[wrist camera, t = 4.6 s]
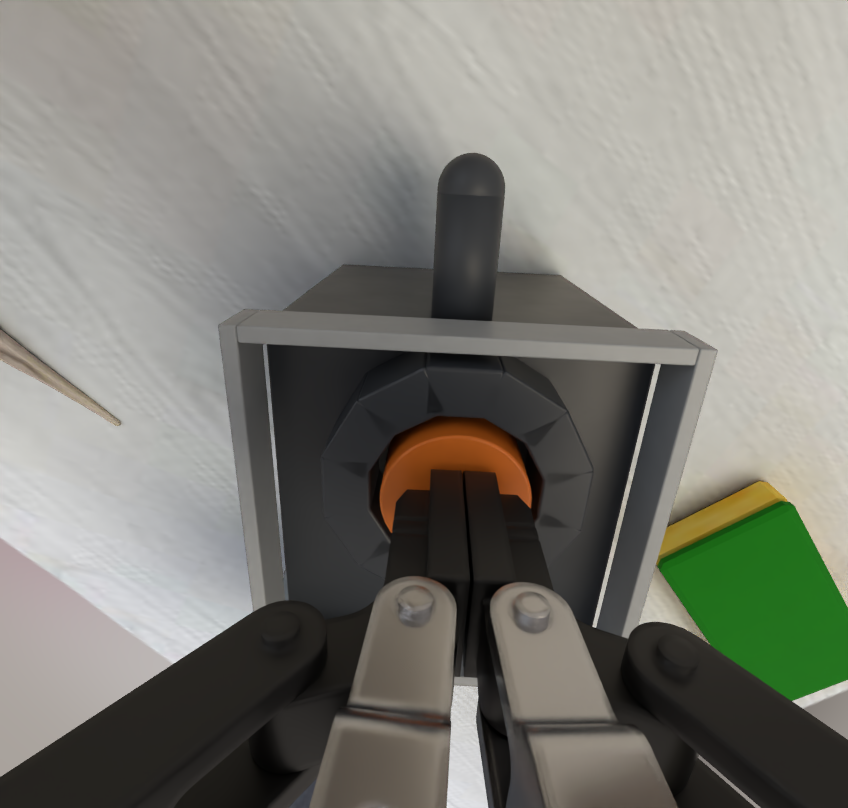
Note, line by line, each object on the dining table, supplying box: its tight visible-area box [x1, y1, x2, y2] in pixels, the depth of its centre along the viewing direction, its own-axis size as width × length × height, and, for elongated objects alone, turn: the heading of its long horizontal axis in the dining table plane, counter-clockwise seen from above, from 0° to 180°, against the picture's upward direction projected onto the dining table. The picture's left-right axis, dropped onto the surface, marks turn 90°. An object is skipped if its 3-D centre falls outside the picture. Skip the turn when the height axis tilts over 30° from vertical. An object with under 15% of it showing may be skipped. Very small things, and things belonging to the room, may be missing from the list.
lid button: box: [380, 416, 532, 533], centre depth 13 cm, size 4×4×2 cm
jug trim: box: [218, 153, 718, 687], centre depth 16 cm, size 11×14×10 cm
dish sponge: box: [656, 481, 848, 701], centre depth 28 cm, size 7×14×2 cm, turn 36°
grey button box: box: [267, 265, 655, 627], centre depth 19 cm, size 10×10×13 cm
